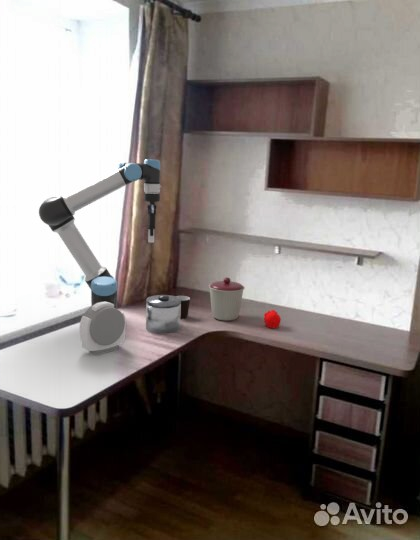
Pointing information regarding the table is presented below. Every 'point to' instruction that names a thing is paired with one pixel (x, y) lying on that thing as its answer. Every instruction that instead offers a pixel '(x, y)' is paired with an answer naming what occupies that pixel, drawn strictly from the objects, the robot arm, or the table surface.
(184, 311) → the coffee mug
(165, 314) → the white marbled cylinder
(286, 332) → the table surface
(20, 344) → the table surface
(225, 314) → the canister
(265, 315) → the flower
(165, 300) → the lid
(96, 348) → the alarm clock
